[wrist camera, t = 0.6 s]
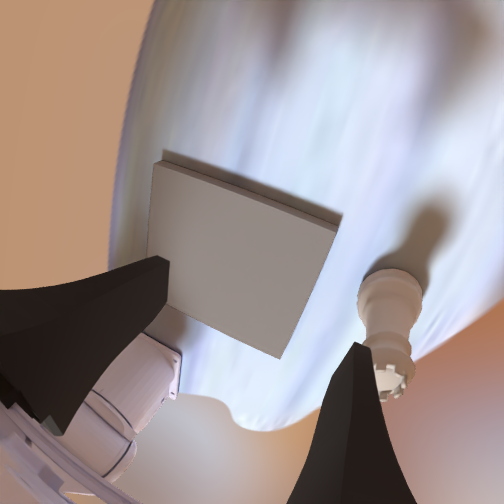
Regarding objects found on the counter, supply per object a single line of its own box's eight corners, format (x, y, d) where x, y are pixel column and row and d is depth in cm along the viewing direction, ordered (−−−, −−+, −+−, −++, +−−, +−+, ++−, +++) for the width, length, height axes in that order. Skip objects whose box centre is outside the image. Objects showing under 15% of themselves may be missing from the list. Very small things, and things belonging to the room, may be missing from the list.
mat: (283, 351, 26) (279, 359, 25) (152, 286, 29) (145, 292, 28) (338, 226, 19) (336, 232, 19) (162, 160, 22) (153, 163, 21)
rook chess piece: (394, 251, 19) (392, 337, 12) (434, 297, 19) (443, 390, 12) (344, 290, 21) (318, 377, 15) (384, 330, 21) (372, 421, 15)
